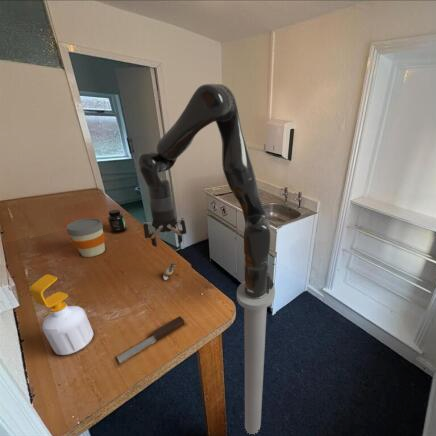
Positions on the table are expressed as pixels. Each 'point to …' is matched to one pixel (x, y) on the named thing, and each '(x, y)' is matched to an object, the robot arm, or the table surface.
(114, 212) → the supplement bottle
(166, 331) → the knife
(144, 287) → the table surface
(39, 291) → the soap bottle
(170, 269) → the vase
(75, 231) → the reusable coffee cup
